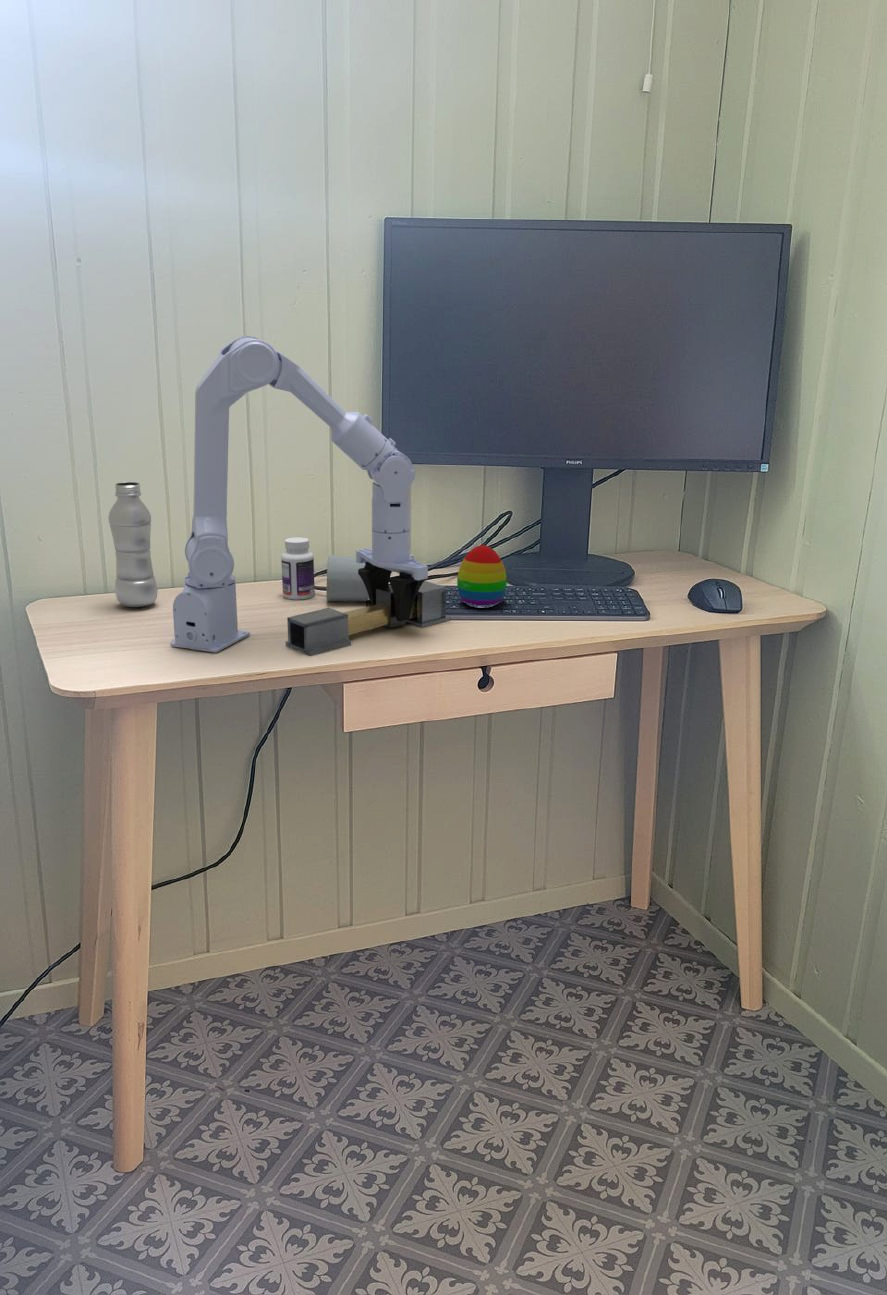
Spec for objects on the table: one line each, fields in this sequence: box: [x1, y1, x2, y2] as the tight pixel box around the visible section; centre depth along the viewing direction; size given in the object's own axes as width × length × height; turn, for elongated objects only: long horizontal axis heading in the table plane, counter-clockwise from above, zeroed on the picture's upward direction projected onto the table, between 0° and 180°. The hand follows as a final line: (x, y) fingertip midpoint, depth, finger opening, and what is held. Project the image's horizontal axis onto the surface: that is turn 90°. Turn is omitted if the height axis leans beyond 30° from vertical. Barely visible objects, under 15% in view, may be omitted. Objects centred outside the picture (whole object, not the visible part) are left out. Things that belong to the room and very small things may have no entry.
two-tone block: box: [342, 584, 417, 636], centre depth 166 cm, size 17×3×6 cm, turn 133°
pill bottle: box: [281, 536, 316, 601], centre depth 183 cm, size 5×5×10 cm
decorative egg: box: [456, 544, 507, 605], centre depth 180 cm, size 8×8×10 cm
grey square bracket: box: [405, 580, 451, 628], centre depth 172 cm, size 6×7×5 cm
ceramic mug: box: [325, 554, 369, 603], centre depth 183 cm, size 11×8×8 cm
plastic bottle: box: [108, 481, 159, 608], centre depth 174 cm, size 6×7×20 cm
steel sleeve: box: [284, 607, 352, 657], centre depth 159 cm, size 8×6×4 cm
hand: (391, 615), depth 168 cm, fingers open, 5 cm apart
